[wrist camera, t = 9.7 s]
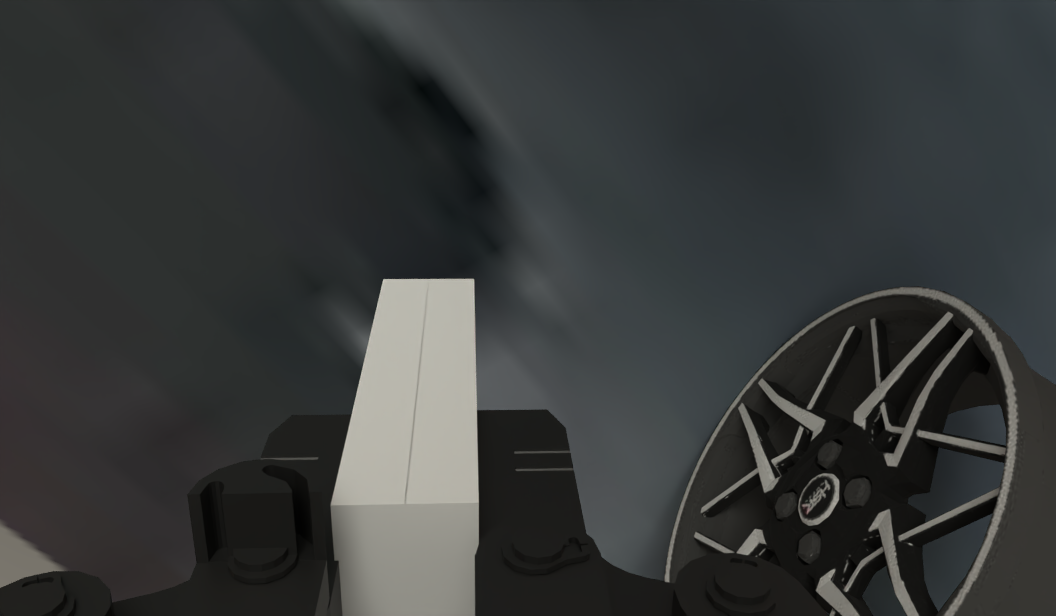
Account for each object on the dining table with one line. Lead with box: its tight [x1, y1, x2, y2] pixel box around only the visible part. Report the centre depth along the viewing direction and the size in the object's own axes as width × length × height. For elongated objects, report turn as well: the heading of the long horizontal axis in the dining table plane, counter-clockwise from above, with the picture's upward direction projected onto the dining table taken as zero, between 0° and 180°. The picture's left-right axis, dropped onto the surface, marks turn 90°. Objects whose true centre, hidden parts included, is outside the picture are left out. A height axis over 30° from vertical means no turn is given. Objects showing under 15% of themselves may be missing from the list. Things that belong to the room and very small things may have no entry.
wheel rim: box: [664, 286, 1056, 616], centre depth 41 cm, size 20×9×20 cm, turn 147°
